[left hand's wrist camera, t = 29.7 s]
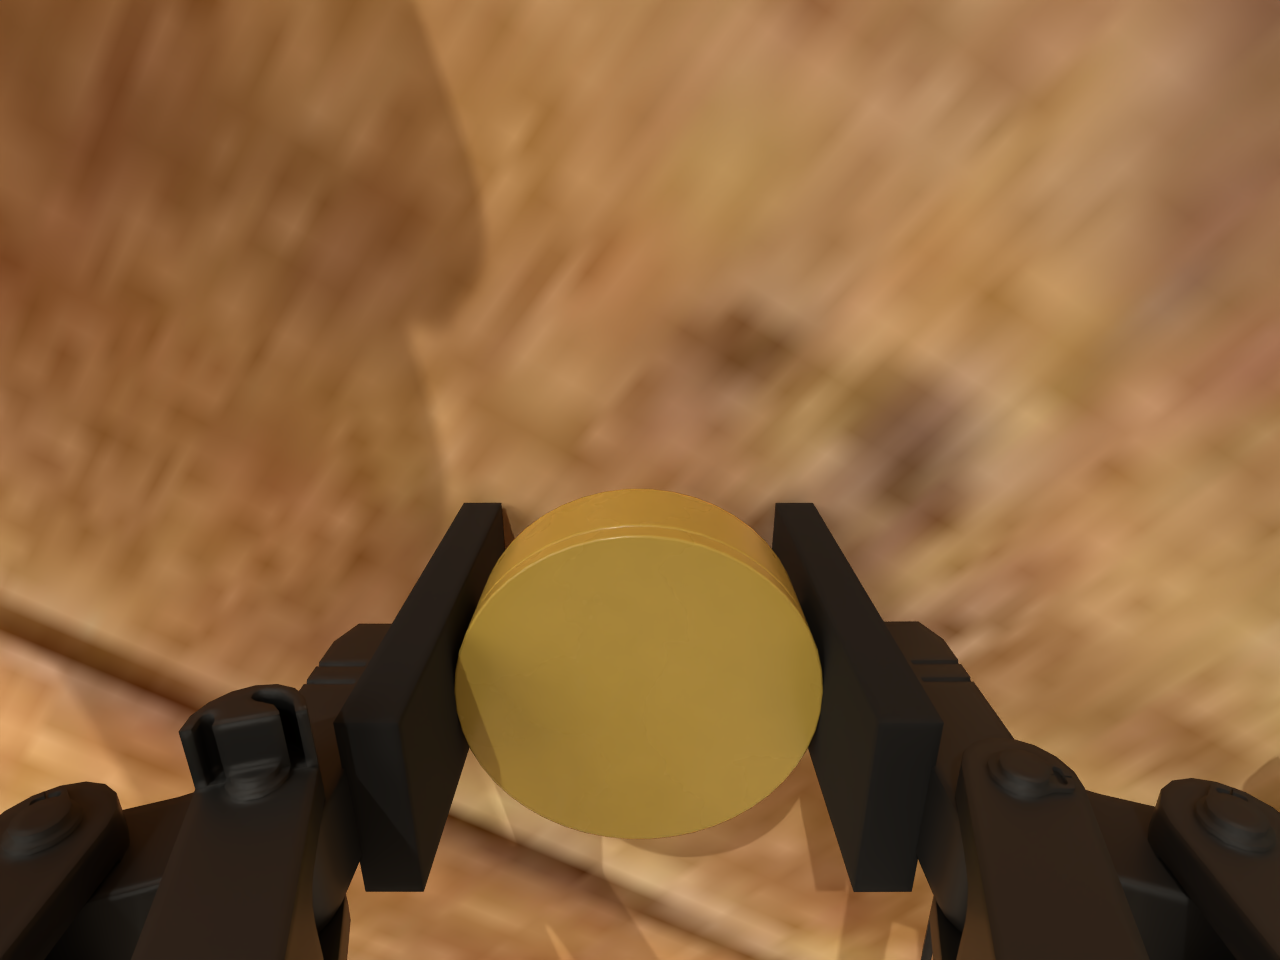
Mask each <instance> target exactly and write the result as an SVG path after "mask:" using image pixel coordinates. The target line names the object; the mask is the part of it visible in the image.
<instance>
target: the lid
mask: <svg viewBox="0 0 1280 960" xmlns="http://www.w3.org/2000/svg"><path fill="white" fill-rule="evenodd" d="M454 688H455V700H456V708H457V714H458V717H459V721H460V725H461V728H462V731H463V734H464V736H465V738H466V740H467V742H468V745H469V747H470V749H471V751H472V752H473V754H474V755H475V757H476V759H477V760H478V762H479V763H480V765H481V766H482V768H483V769H484V770H485V771H486V772H487V773H488V775H489V776H490V777H491V778H492V779H493V781H494V782H495V783H496V784H498V785H499V786H500V787H501V788H502V789H503V790H504V791H505V792H506V793H507V794H508V795H510V796H511V797H512V798H514V799H515V800H516V801H518V802H519V803H521V804H522V805H523V806H525V807H526V808H528V809H530V810H532V811H533V812H535V813H537V814H539V815H540V816H542V817H544V818H546V819H549V820H551V821H553V822H556V823H558V824H560V825H563V826H565V827H568V828H572V829H575V830H578V831H581V832H585V833H590V834H595V835H600V836H605V837H613V838H623V839H655V838H665V837H674V836H679V835H684V834H689V833H694V832H697V831H700V830H703V829H706V828H710V827H713V826H716V825H718V824H720V823H723V822H725V821H727V820H730V819H732V818H734V817H736V816H738V815H739V814H741V813H743V812H745V811H747V810H748V809H750V808H752V807H753V806H755V805H756V804H757V803H759V802H760V801H762V800H763V799H764V798H766V797H767V796H768V795H770V794H771V793H772V792H773V791H774V790H775V789H776V788H777V787H778V786H779V785H780V784H781V783H783V782H784V781H785V779H786V778H787V777H788V776H789V775H790V773H791V772H792V771H793V770H794V769H795V767H796V766H797V765H798V763H799V761H800V760H801V758H802V757H803V755H804V753H805V752H806V750H807V749H808V746H809V744H810V742H811V740H812V737H813V735H814V733H815V731H816V727H817V723H818V720H819V716H820V712H821V704H822V695H823V676H822V667H821V662H820V658H819V653H818V649H817V647H816V644H815V641H814V639H813V636H812V634H811V631H810V629H809V626H808V624H807V621H806V619H805V616H804V613H803V611H802V608H801V606H800V603H799V601H798V598H797V596H796V593H795V591H794V588H793V586H792V583H791V581H790V578H789V576H788V574H787V572H786V570H785V568H784V567H783V565H782V563H781V561H780V560H779V558H778V557H777V555H776V554H775V553H774V551H773V550H772V549H771V548H770V546H769V545H768V544H767V543H766V541H764V540H763V539H762V538H761V537H760V536H759V535H758V534H757V533H756V532H755V531H754V530H753V529H752V528H751V527H749V526H748V525H747V524H745V523H744V522H742V521H741V520H740V519H738V518H737V517H736V516H734V515H732V514H731V513H729V512H727V511H725V510H723V509H721V508H719V507H718V506H716V505H713V504H711V503H708V502H706V501H703V500H700V499H698V498H695V497H692V496H688V495H684V494H679V493H675V492H670V491H662V490H654V489H624V490H616V491H608V492H602V493H598V494H594V495H590V496H586V497H582V498H580V499H577V500H575V501H572V502H569V503H567V504H564V505H562V506H560V507H558V508H556V509H555V510H553V511H551V512H549V513H547V514H545V515H544V516H542V517H541V518H539V519H538V520H537V521H535V522H534V523H533V524H531V525H530V526H528V527H527V528H526V529H525V530H524V531H523V532H522V533H521V534H520V535H519V536H518V537H516V538H515V539H514V540H513V541H512V542H511V544H510V545H509V546H508V547H507V549H506V550H505V551H504V553H503V554H502V555H501V556H500V558H499V559H498V561H497V563H496V565H495V566H494V568H493V570H492V572H491V574H490V575H489V578H488V580H487V583H486V585H485V588H484V590H483V593H482V595H481V597H480V600H479V602H478V605H477V607H476V610H475V612H474V614H473V617H472V619H471V622H470V624H469V627H468V629H467V631H466V634H465V637H464V639H463V642H462V645H461V647H460V650H459V654H458V659H457V664H456V669H455V686H454Z"/></svg>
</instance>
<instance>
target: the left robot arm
mask: <svg viewBox="0 0 1280 960" xmlns="http://www.w3.org/2000/svg"><path fill="white" fill-rule="evenodd" d="M772 550H773V551H774V553H775V554H776V555H777V557H778V558H779V560H780V561H781V563H782V565H783V567H784V568H785V570H786V572H787V574H788V576H789V578H790V581H791V583H792V586H793V588H794V591H795V593H796V596H797V598H798V601H799V603H800V606H801V608H802V611H803V613H804V616H805V619H806V621H807V624H808V626H809V629H810V631H811V634H812V636H813V639H814V641H815V644H816V647H817V649H818V653H819V658H820V662H821V667H822V676H823V695H822V704H821V712H820V716H819V720H818V723H817V727H816V731H815V733H814V735H813V737H812V740H811V742H810V744H809V746H808V749H809V753H810V756H811V759H812V762H813V765H814V768H815V771H816V775H817V778H818V781H819V784H820V787H821V790H822V794H823V797H824V800H825V803H826V806H827V809H828V812H829V816H830V819H831V822H832V825H833V828H834V831H835V834H836V838H837V841H838V844H839V847H840V850H841V853H842V856H843V860H844V863H845V866H846V869H847V872H848V875H849V878H850V882H851V885H852V888H853V891H854V892H912V887H913V882H914V877H915V872H916V866H917V861H918V860H919V862H920V865H921V867H922V869H923V872H924V874H925V876H926V878H927V881H928V883H929V885H930V888H931V890H932V892H933V895H934V896H933V901H932V906H931V911H930V916H929V921H928V925H927V930H926V935H925V940H924V945H923V951H922V957H921V960H931V958H932V953H933V960H1280V813H1279V812H1278V811H1277V810H1275V809H1274V808H1273V807H1271V806H1269V805H1267V804H1266V803H1264V802H1262V801H1260V800H1258V799H1257V798H1255V797H1253V796H1251V795H1249V794H1247V793H1246V792H1243V791H1240V790H1238V789H1235V788H1232V787H1229V786H1226V785H1224V784H1221V783H1218V782H1213V781H1207V780H1200V779H1194V778H1189V779H1181V780H1173V781H1171V782H1170V783H1169V784H1167V785H1166V786H1165V787H1164V788H1162V789H1161V792H1160V794H1159V797H1158V800H1157V803H1156V806H1155V807H1154V806H1150V805H1145V804H1141V803H1136V802H1132V801H1128V800H1123V799H1119V798H1114V797H1110V796H1106V795H1101V794H1098V793H1094V792H1091V791H1088V790H1085V788H1084V786H1083V785H1082V783H1081V782H1080V780H1079V779H1078V777H1077V775H1076V774H1075V772H1074V771H1073V770H1071V769H1070V768H1069V767H1068V766H1067V765H1066V764H1064V763H1063V762H1062V761H1061V760H1060V759H1058V758H1057V757H1056V756H1054V755H1052V754H1050V753H1048V752H1046V751H1044V750H1042V749H1041V748H1039V747H1037V746H1035V745H1032V744H1028V743H1025V742H1021V741H1018V740H1015V739H1014V738H1013V737H1012V735H1011V734H1010V732H1009V731H1008V730H1007V728H1006V727H1005V725H1004V724H1003V723H1002V721H1001V720H1000V718H999V717H998V716H997V714H996V713H995V711H994V710H993V709H992V707H991V706H990V704H989V703H988V701H987V700H986V699H985V697H984V696H983V694H982V693H981V692H980V690H979V689H978V687H977V686H976V685H975V683H974V682H971V680H970V676H969V675H968V673H967V672H966V670H965V669H964V668H963V666H962V665H961V664H958V659H957V658H956V656H955V655H954V654H953V652H952V651H951V649H950V648H949V647H948V645H947V644H946V642H945V641H944V640H943V639H942V638H941V637H939V636H938V635H937V634H935V633H934V632H932V631H931V630H929V629H928V628H927V627H925V626H924V625H922V624H921V623H920V622H884V621H883V620H882V618H881V616H880V615H879V613H878V611H877V610H876V608H875V606H874V605H873V603H872V601H871V600H870V598H869V596H868V595H867V593H866V591H865V590H864V588H863V586H862V585H861V583H860V581H859V580H858V578H857V576H856V574H855V573H854V571H853V569H852V568H851V566H850V564H849V563H848V561H847V559H846V558H845V556H844V554H843V553H842V551H841V549H840V548H839V546H838V544H837V543H836V541H835V539H834V538H833V536H832V534H831V533H830V531H829V529H828V528H827V526H826V524H825V522H824V521H823V519H822V517H821V516H820V514H819V512H818V511H817V509H816V507H815V506H814V504H813V503H776V506H775V519H774V532H773V546H772ZM504 551H505V545H504V532H503V519H502V506H501V503H464V504H463V506H462V507H461V509H460V511H459V512H458V514H457V516H456V517H455V519H454V521H453V522H452V524H451V526H450V527H449V529H448V531H447V532H446V534H445V536H444V537H443V539H442V541H441V543H440V544H439V546H438V548H437V549H436V551H435V553H434V554H433V556H432V558H431V559H430V561H429V563H428V564H427V566H426V568H425V569H424V571H423V573H422V574H421V576H420V578H419V579H418V581H417V583H416V584H415V586H414V588H413V589H412V591H411V593H410V595H409V596H408V598H407V600H406V601H405V603H404V605H403V606H402V608H401V610H400V611H399V613H398V615H397V616H396V618H395V620H394V621H393V623H392V624H358V625H357V626H355V627H354V628H352V629H351V630H350V631H348V632H347V633H345V634H344V635H343V636H341V637H340V638H338V639H337V640H336V641H334V642H333V644H332V645H331V647H330V648H329V649H328V651H327V652H326V654H325V655H324V657H323V658H322V659H321V661H320V662H319V667H316V668H315V669H314V671H313V672H312V674H311V675H310V676H309V678H308V679H307V684H304V685H303V686H302V688H301V689H300V691H298V690H296V689H295V688H292V687H288V686H283V685H279V684H272V685H255V686H252V687H248V688H244V689H240V690H236V691H233V692H230V693H228V694H226V695H224V696H222V697H219V698H217V699H215V700H213V701H211V702H209V703H207V704H206V705H205V706H203V707H202V708H201V709H199V710H198V711H197V712H195V713H194V714H193V715H191V716H190V717H189V719H188V720H187V721H186V723H185V724H184V725H183V727H182V728H181V729H180V731H179V735H180V738H181V741H182V745H183V748H184V752H185V755H186V759H187V762H188V765H189V769H190V772H191V776H192V779H193V783H194V786H195V791H194V793H190V794H187V795H184V796H180V797H177V798H173V799H168V800H164V801H160V802H155V803H151V804H147V805H142V806H138V807H134V808H129V809H125V810H122V808H121V805H120V802H119V799H118V796H117V793H116V792H115V791H113V790H112V789H111V788H110V787H108V786H107V785H106V784H100V783H93V782H81V783H74V784H68V785H62V786H58V787H56V788H53V789H50V790H47V791H44V792H42V793H39V794H36V795H34V796H31V797H30V798H28V799H26V800H24V801H22V802H21V803H19V804H17V805H15V806H13V807H11V808H10V809H8V810H6V811H4V812H3V813H2V814H1V815H0V960H347V954H348V943H349V932H350V921H351V920H350V913H349V907H348V901H347V896H346V892H347V890H348V887H349V885H350V883H351V880H352V878H353V876H354V873H355V871H356V869H357V866H358V864H359V862H360V865H361V870H362V875H363V880H364V885H365V891H366V892H424V889H425V886H426V883H427V879H428V876H429V873H430V870H431V867H432V864H433V861H434V857H435V854H436V851H437V848H438V845H439V842H440V838H441V835H442V832H443V829H444V826H445V823H446V819H447V816H448V813H449V810H450V807H451V804H452V801H453V797H454V794H455V791H456V788H457V785H458V782H459V778H460V775H461V772H462V769H463V766H464V763H465V760H466V756H467V753H468V750H469V745H468V742H467V740H466V738H465V736H464V734H463V731H462V728H461V725H460V721H459V717H458V714H457V708H456V700H455V688H454V686H455V669H456V664H457V659H458V654H459V650H460V647H461V645H462V642H463V639H464V637H465V634H466V631H467V629H468V627H469V624H470V622H471V619H472V617H473V614H474V612H475V610H476V607H477V605H478V602H479V600H480V597H481V595H482V593H483V590H484V588H485V585H486V583H487V580H488V578H489V575H490V574H491V572H492V570H493V568H494V566H495V565H496V563H497V561H498V559H499V558H500V556H501V555H502V554H503V553H504Z"/></svg>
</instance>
